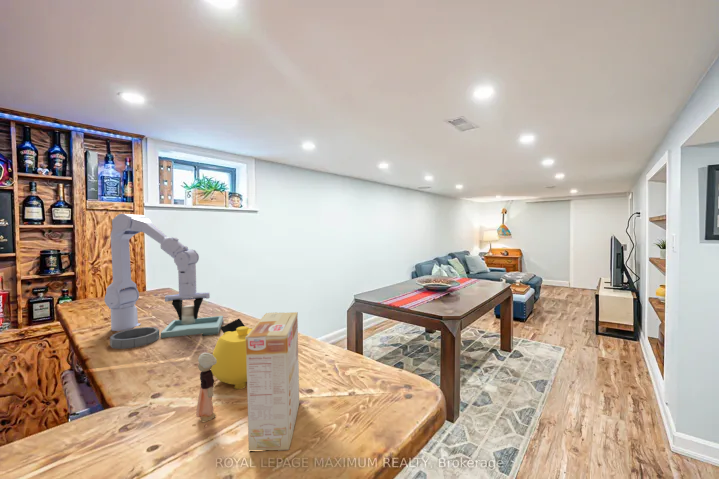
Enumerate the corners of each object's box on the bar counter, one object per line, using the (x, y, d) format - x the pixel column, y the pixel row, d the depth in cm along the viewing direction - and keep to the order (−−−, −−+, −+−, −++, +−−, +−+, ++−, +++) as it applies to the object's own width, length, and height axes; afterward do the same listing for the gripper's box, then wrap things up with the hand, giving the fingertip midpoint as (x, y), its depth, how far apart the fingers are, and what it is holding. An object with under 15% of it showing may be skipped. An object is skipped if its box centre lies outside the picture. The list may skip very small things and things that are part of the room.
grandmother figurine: (190, 412, 63) (188, 350, 62) (210, 405, 65) (208, 345, 65) (203, 429, 57) (201, 362, 57) (224, 420, 60) (223, 356, 60)
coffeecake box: (266, 403, 66) (265, 312, 65) (300, 401, 66) (299, 311, 66) (246, 453, 51) (243, 336, 51) (289, 450, 52) (287, 334, 51)
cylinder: (183, 321, 117) (183, 305, 117) (196, 320, 118) (196, 304, 118) (180, 325, 113) (179, 308, 112) (193, 323, 114) (193, 307, 114)
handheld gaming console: (252, 339, 101) (234, 315, 102) (234, 353, 100) (217, 329, 101) (264, 333, 112) (248, 311, 113) (248, 346, 112) (232, 323, 113)
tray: (173, 326, 121) (172, 320, 121) (223, 321, 127) (222, 315, 127) (160, 340, 106) (160, 332, 106) (218, 334, 111) (218, 327, 111)
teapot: (246, 360, 88) (245, 316, 88) (295, 378, 77) (294, 328, 76) (198, 379, 77) (197, 329, 77) (247, 404, 65) (246, 345, 65)
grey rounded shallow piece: (120, 339, 107) (120, 329, 107) (163, 335, 111) (163, 325, 111) (103, 353, 95) (102, 342, 94) (151, 347, 99) (151, 337, 98)
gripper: (161, 285, 109) (163, 323, 109) (207, 283, 114) (208, 319, 114) (167, 282, 116) (168, 318, 116) (210, 280, 120) (211, 314, 121)
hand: (188, 318), depth 115 cm, fingers closed on cylinder, 4 cm apart
